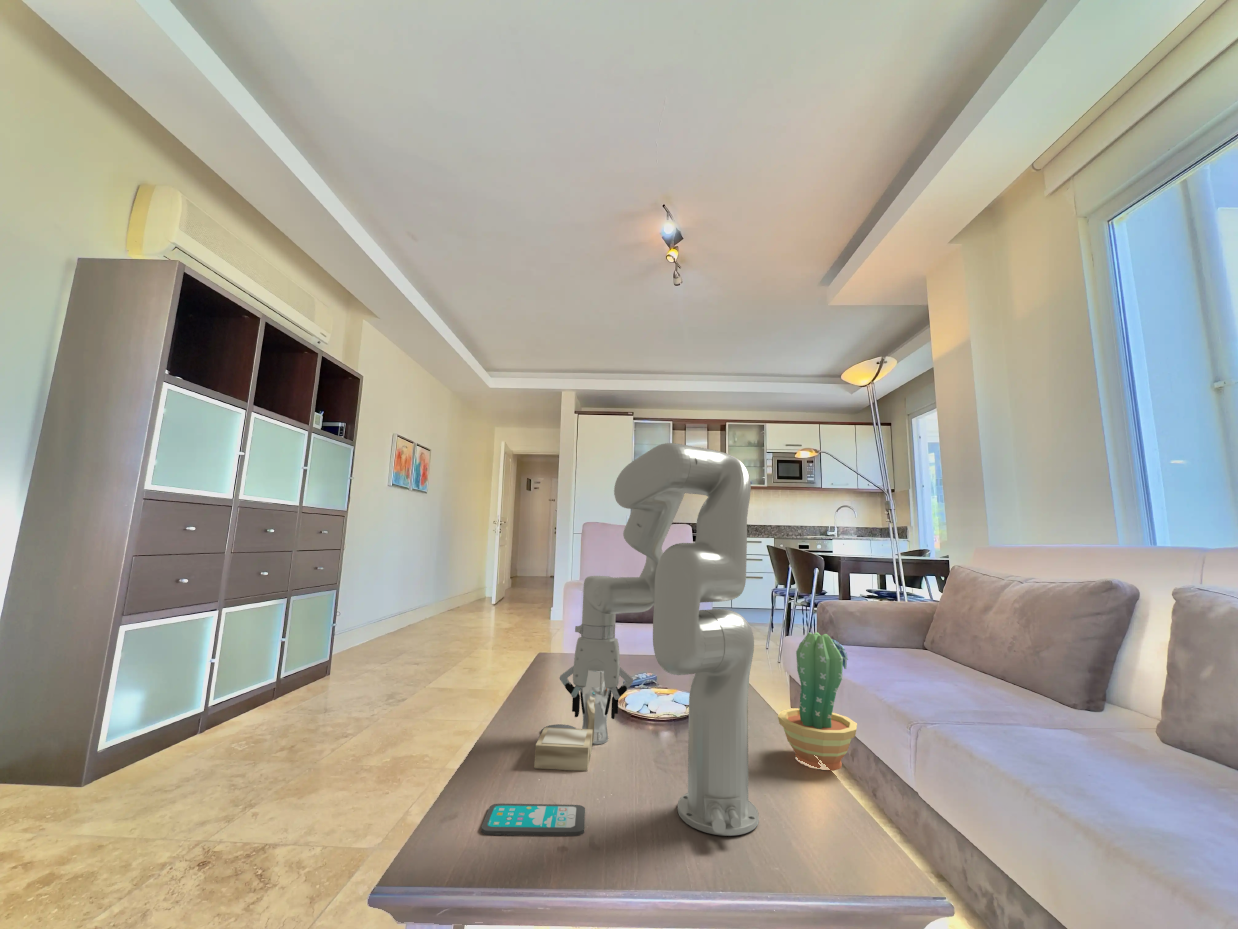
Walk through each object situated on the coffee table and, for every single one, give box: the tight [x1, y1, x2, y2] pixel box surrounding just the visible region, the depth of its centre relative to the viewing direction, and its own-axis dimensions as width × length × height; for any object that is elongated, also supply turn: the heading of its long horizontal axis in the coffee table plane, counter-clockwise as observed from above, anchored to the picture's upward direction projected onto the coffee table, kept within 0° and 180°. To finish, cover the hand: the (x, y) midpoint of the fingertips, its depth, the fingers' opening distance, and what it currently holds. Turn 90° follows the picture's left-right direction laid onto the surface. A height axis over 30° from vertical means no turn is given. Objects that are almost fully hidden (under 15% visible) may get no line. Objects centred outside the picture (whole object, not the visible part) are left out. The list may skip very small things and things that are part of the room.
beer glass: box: [579, 670, 613, 746], centre depth 113 cm, size 7×7×15 cm
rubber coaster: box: [541, 723, 577, 734], centre depth 115 cm, size 8×8×1 cm
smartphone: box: [480, 803, 586, 837], centre depth 79 cm, size 9×1×15 cm
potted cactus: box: [777, 631, 858, 772], centre depth 107 cm, size 15×15×25 cm
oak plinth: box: [534, 726, 593, 772], centre depth 102 cm, size 10×10×4 cm
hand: (595, 715), depth 113 cm, fingers open, 7 cm apart
